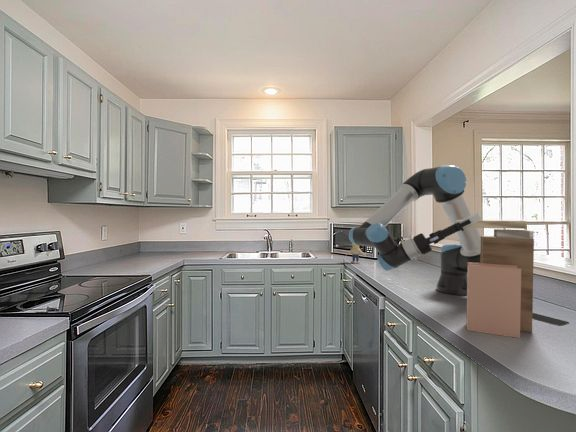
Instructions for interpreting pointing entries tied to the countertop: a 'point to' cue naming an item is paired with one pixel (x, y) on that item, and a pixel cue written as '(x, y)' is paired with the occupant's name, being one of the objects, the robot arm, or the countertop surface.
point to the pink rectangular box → (494, 299)
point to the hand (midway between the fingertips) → (479, 216)
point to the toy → (355, 252)
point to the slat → (497, 224)
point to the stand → (513, 263)
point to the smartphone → (548, 319)
